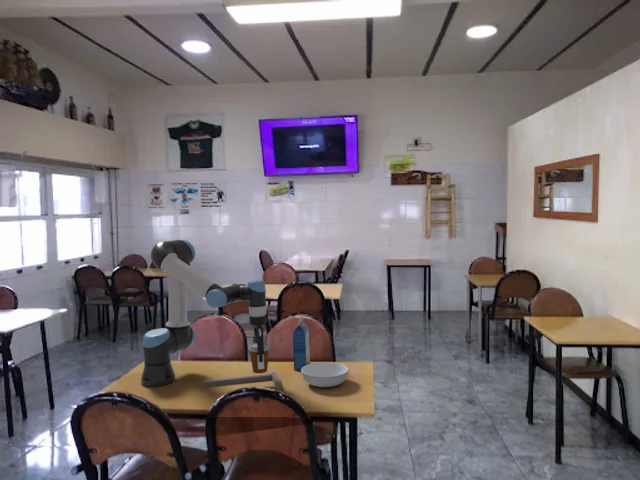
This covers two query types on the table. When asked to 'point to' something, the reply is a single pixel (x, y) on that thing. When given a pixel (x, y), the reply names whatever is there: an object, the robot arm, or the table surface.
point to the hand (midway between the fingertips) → (259, 365)
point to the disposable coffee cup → (254, 359)
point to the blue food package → (301, 345)
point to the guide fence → (246, 380)
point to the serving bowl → (324, 374)
